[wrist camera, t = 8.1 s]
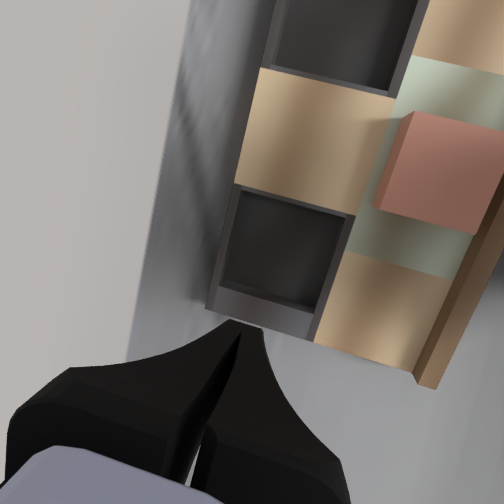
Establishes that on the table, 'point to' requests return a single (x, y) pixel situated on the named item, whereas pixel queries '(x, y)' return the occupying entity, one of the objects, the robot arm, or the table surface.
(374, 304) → the trap board
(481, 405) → the table surface
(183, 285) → the table surface
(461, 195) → the tile block
